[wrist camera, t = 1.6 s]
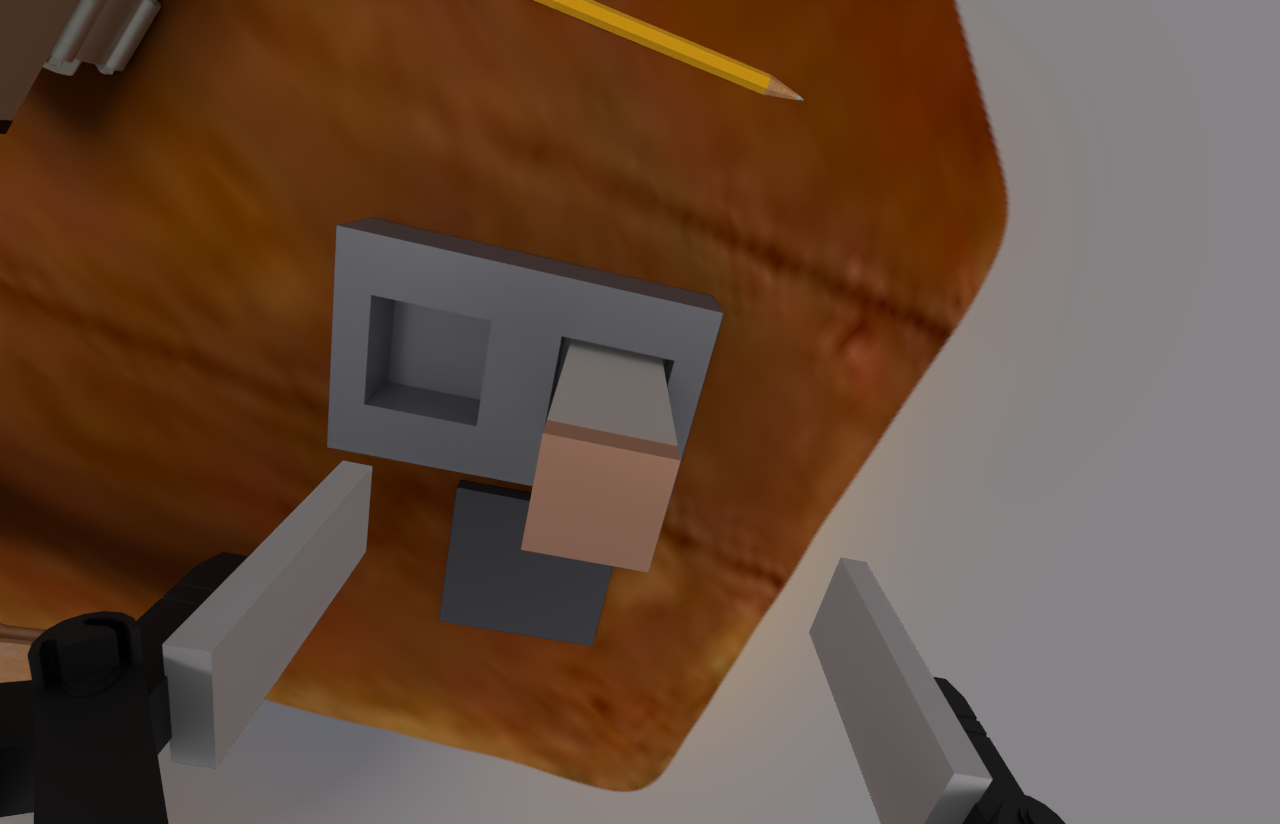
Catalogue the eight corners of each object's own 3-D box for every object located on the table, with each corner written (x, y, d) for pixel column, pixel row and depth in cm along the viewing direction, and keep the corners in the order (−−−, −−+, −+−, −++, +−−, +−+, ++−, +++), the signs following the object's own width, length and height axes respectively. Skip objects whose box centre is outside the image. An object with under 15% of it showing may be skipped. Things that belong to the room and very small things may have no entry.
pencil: (353, -98, 23) (345, -105, 23) (805, 91, 26) (810, 89, 26) (349, -74, 24) (342, -81, 23) (797, 110, 26) (802, 109, 26)
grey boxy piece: (358, 417, 31) (327, 447, 28) (370, 217, 27) (336, 225, 24) (662, 476, 33) (666, 511, 30) (712, 296, 29) (723, 313, 26)
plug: (558, 408, 31) (521, 549, 20) (574, 329, 29) (543, 433, 18) (640, 425, 31) (648, 572, 20) (660, 347, 30) (680, 460, 18)
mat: (442, 611, 36) (438, 621, 35) (460, 479, 33) (457, 487, 32) (592, 636, 37) (592, 646, 36) (625, 511, 34) (625, 518, 33)
